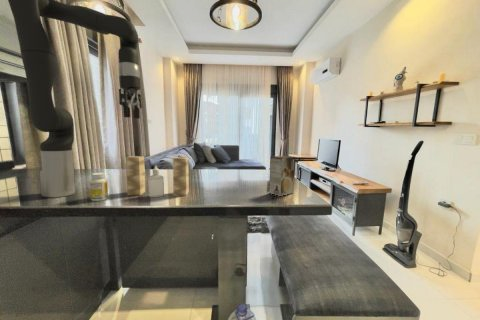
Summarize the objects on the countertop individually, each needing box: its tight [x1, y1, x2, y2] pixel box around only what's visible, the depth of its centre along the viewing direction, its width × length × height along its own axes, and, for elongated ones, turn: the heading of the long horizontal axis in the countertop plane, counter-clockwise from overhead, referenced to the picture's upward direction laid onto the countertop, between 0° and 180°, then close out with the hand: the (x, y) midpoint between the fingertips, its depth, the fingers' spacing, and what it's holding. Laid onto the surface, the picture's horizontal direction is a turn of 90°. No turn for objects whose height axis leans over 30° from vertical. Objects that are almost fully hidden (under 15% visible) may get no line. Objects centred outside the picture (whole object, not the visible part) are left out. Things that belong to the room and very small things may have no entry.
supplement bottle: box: [89, 172, 109, 202], centre depth 81 cm, size 5×5×10 cm
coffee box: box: [268, 155, 296, 197], centre depth 93 cm, size 9×6×16 cm
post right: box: [172, 156, 190, 197], centre depth 89 cm, size 5×5×15 cm
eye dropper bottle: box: [147, 165, 165, 198], centre depth 86 cm, size 4×6×12 cm
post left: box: [125, 155, 146, 196], centre depth 88 cm, size 5×5×15 cm
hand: (132, 117), depth 90 cm, fingers open, 8 cm apart
